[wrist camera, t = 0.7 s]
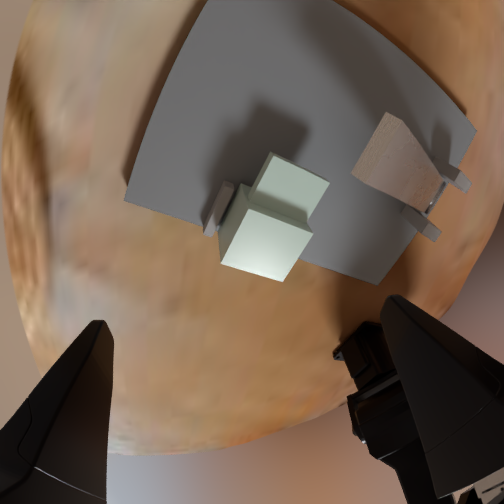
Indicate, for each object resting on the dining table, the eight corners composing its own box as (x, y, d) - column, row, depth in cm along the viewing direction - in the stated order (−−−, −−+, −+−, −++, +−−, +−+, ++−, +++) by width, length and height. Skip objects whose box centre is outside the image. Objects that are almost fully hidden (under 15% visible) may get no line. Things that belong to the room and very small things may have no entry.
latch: (317, 169, 18) (339, 191, 15) (270, 248, 21) (282, 281, 18) (261, 142, 16) (274, 159, 13) (217, 231, 19) (220, 263, 16)
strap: (435, 176, 19) (447, 185, 19) (417, 206, 21) (428, 215, 20) (381, 109, 10) (406, 122, 9) (346, 170, 11) (369, 186, 10)
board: (465, 125, 19) (501, 142, 15) (370, 275, 26) (392, 308, 23) (235, -37, 11) (244, -65, 7) (128, 191, 19) (111, 223, 15)
